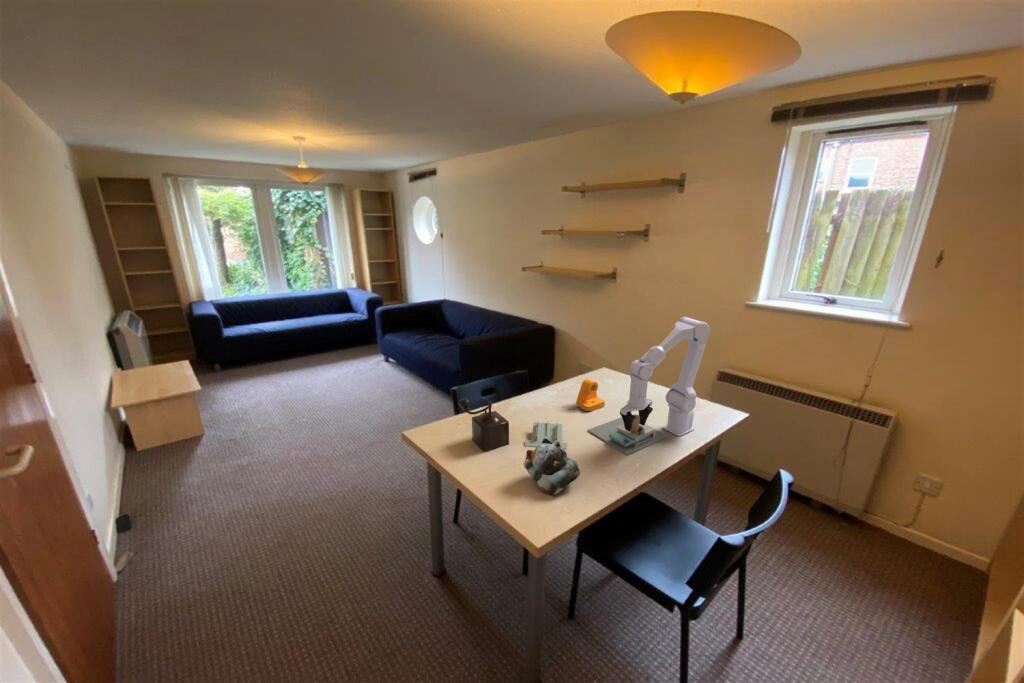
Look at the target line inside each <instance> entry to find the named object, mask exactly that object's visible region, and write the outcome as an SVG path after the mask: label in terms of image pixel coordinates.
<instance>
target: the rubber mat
mask: <svg viewBox="0 0 1024 683" xmlns="http://www.w3.org/2000/svg"><path fill="white" fill-rule="evenodd" d="M623 424H624V422H623V419H622V416H621V417H619V418H615V419H613V420H610V421H607V422H604V423H603V424H600V425H596V426H594V427H591V428H588V429H587V432H588V433H590V434H592V435H593V436H595V437H597V438H598V439H600V440H601V441H603V442H604V443H606V444H608V445H609V446H611V447H613V448H615V449H616V450H617V451H619V452H621V453H622V454H624V455H626V456H630V455H632V454H635V453H636V452H638V451H639V452H640V451H641V450H643V449H646V448H648V447H650V446H652V445H655V444H657V443H659V442H661V441H663V440H666V439H668V438H669V435H667V434H664V433H663V432H661V431H659V430H656V431H655V439H653V440H651V441H649V442H646V443H644V444H642V445H639V446H637V447H633V446H632V445H629V446H627V447H625V446H623V445H621V444H620V443H618V442H616V441H614V440H613V439H611V438H609V434H611V433H613V432H616V431H618V430H617V427H618V426H620V425H623Z"/></svg>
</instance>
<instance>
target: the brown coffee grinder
mask: <svg viewBox="0 0 1024 683" xmlns="http://www.w3.org/2000/svg"><path fill="white" fill-rule="evenodd" d="M487 403H488V404H487V406H485V407H484V408H482V409H480V410H477V411H470V409H471V408H470V407H469V404H470V400H469V399H468V398H465V397H462V398H461V399H460V400H459V401H458V406H459V407H460V408H461V409H462V410H461V411H462V412H463V413H467V414H469V415H475V416H472V417H471V430H472V431H471V436H472V437H471V440H472V442H473V443H474V444H475V445H476V446H477V447H478V448H479V449H480V450H481V451H482V452H484V453H487V452H491V451H494V450H498V449H500V448H503V447H505V446H508V445H510V423H509V420H508V419H506V418H505V417H504V416H502V415H501V414H500V413H498V411H496V410H495V411H492V407H493V405H492V401H491V400H489V401H488V402H487ZM487 410H488V411H487ZM478 414H479V415H478Z"/></svg>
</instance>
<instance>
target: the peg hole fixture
mask: <svg viewBox="0 0 1024 683" xmlns="http://www.w3.org/2000/svg"><path fill="white" fill-rule="evenodd" d="M617 430H618V431H616V432H613V433H611V434H609V438H611V439H613V440H614V441H616V442H618V443H620V444H621V445H623V446H625V447H627V446H629V445H632V446H633V447H637V446H639V445H642V444H644V443H646V442H649V441H651V440H653V439H655V431H656V428H654V427H653V426H650V425H648V424H646V423H645V425H644V426H643V425H641V424H639V431H638V432H636V433H635V432H633V431H627V430H625V426H624V424H623V425H620V426H618V427H617Z"/></svg>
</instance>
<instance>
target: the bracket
mask: <svg viewBox="0 0 1024 683" xmlns="http://www.w3.org/2000/svg"><path fill="white" fill-rule="evenodd" d="M598 389H599V384H598V382H596V381H595V380H592V379H590V378H585V379H583V381H582V383H581V385H580V389H579V392H578V395H577V398H576V402H575V406H577V407H579V408H580V409H582V410H585V411H586V412H587V411H588V412H589V411H590V412H594V411H597V410H600V409H602V407H604V406H605V402H606V400H604V399H602V398H600V397H599V396H598V394H597V391H598Z"/></svg>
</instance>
